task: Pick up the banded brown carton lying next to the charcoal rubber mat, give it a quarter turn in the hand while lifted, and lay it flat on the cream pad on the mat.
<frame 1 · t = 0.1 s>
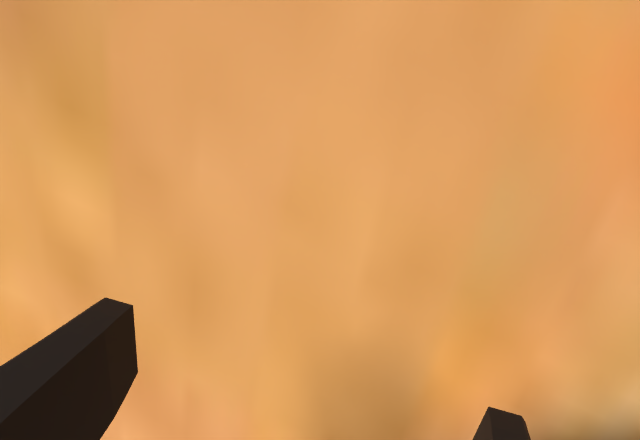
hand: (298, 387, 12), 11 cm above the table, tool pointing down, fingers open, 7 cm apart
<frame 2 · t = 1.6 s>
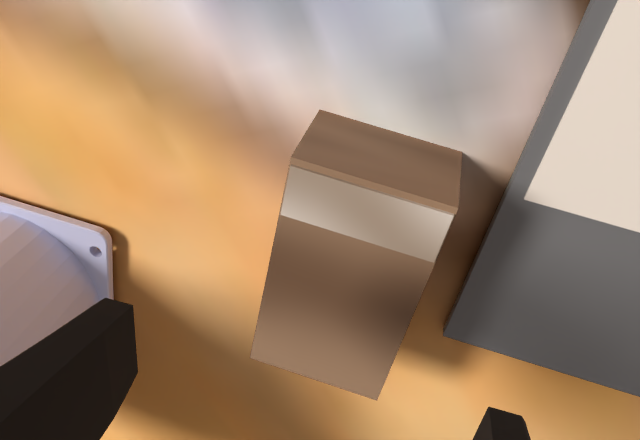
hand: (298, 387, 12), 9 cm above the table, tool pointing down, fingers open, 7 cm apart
banded brown carton: (359, 229, 20), on the table
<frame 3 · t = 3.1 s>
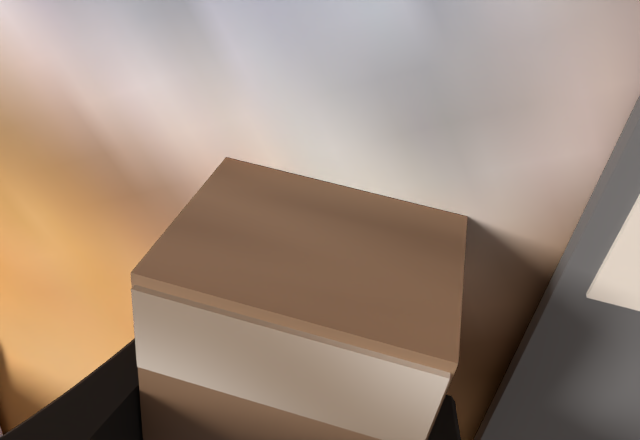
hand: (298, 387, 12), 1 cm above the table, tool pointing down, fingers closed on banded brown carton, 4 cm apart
banded brown carton: (315, 339, 13), on the table, touching gripper
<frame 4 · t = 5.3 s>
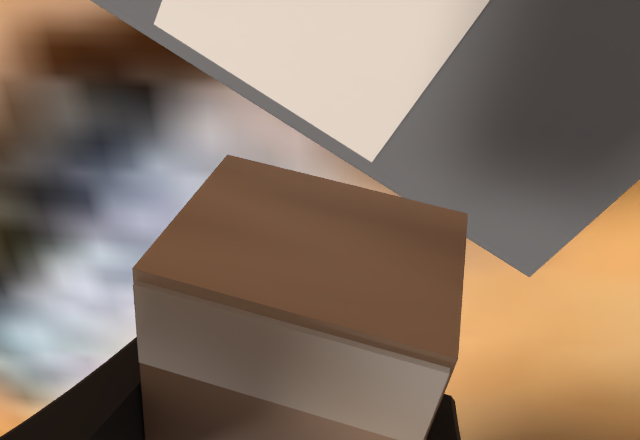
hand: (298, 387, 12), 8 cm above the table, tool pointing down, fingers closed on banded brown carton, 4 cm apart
banded brown carton: (316, 336, 13), point 7 cm above the table, touching gripper
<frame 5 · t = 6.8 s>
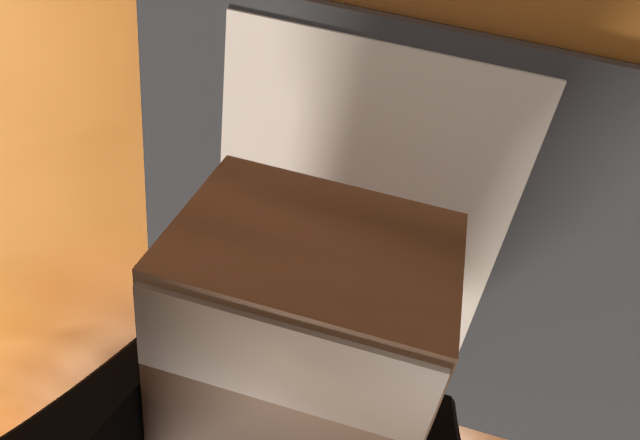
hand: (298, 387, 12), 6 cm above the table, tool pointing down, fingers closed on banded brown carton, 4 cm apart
mat: (423, 252, 16), on the table
banded brown carton: (315, 336, 13), point 4 cm above the table, touching gripper
when the fingers open (3 cm above the table, at t = 7.7 s): banded brown carton stays where it is, resting on mat.
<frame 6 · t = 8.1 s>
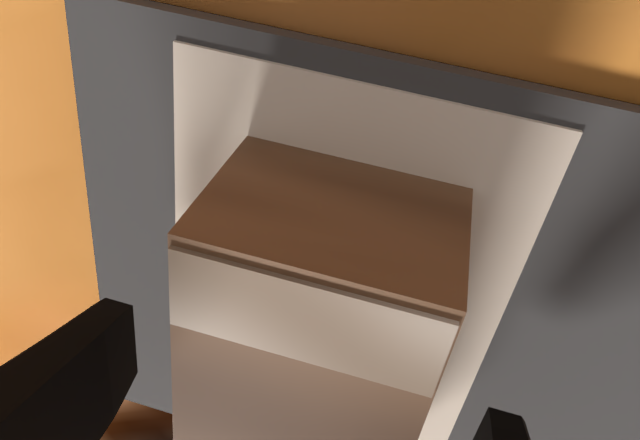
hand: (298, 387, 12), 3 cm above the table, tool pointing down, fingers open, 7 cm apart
mat: (412, 315, 14), on the table
banded brown carton: (328, 310, 13), resting on mat
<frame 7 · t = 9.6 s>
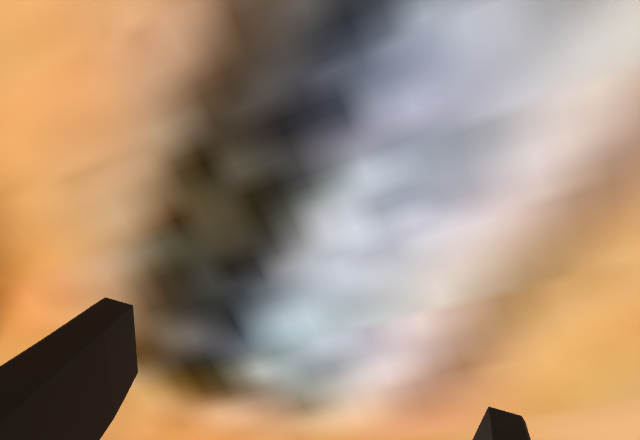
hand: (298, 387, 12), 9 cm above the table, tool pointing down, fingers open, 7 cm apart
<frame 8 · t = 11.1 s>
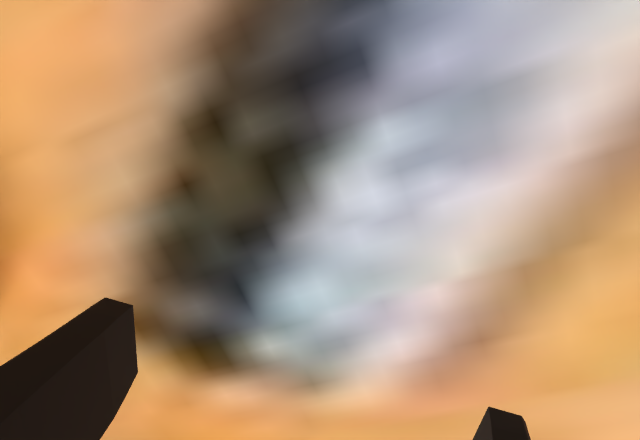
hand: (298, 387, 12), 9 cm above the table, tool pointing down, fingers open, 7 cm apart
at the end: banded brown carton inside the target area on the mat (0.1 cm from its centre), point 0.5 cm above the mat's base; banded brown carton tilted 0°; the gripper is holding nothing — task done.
